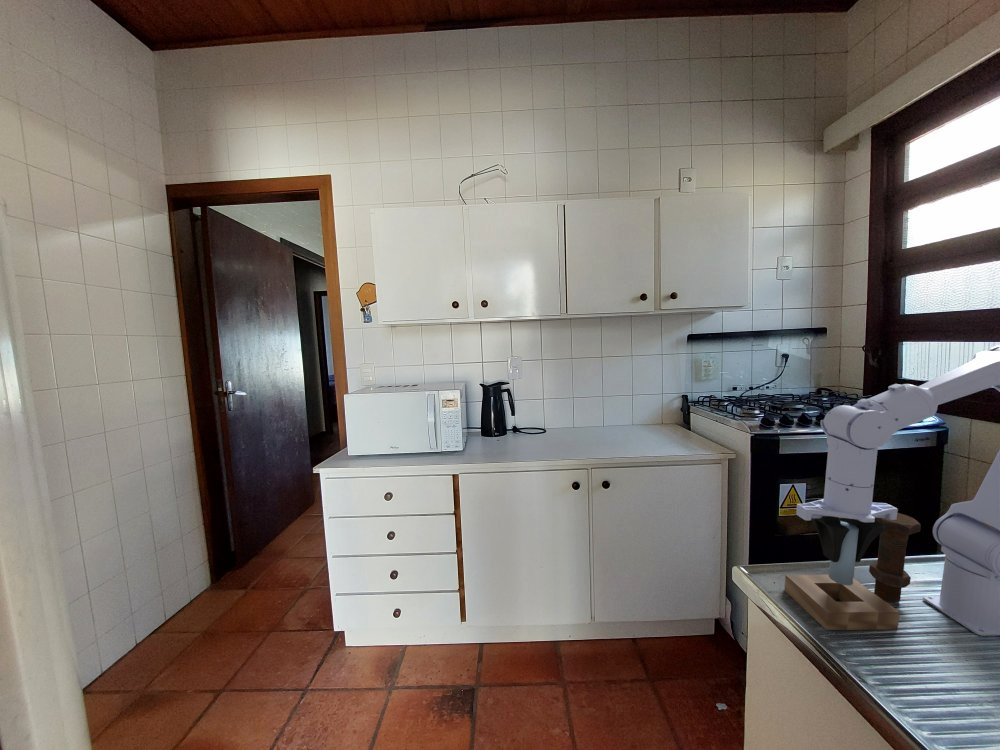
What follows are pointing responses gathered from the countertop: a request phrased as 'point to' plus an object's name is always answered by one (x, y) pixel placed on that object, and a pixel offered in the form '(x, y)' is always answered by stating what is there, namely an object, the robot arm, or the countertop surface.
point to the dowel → (845, 557)
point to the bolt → (892, 557)
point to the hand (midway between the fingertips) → (841, 558)
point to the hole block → (841, 603)
